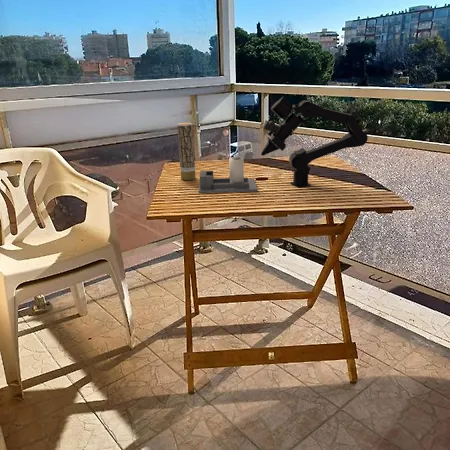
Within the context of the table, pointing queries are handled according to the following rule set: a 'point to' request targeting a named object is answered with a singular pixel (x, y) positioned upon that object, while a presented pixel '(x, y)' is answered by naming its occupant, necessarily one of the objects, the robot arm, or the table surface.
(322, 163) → the table surface
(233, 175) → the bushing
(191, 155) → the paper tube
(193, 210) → the table surface
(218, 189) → the jig
